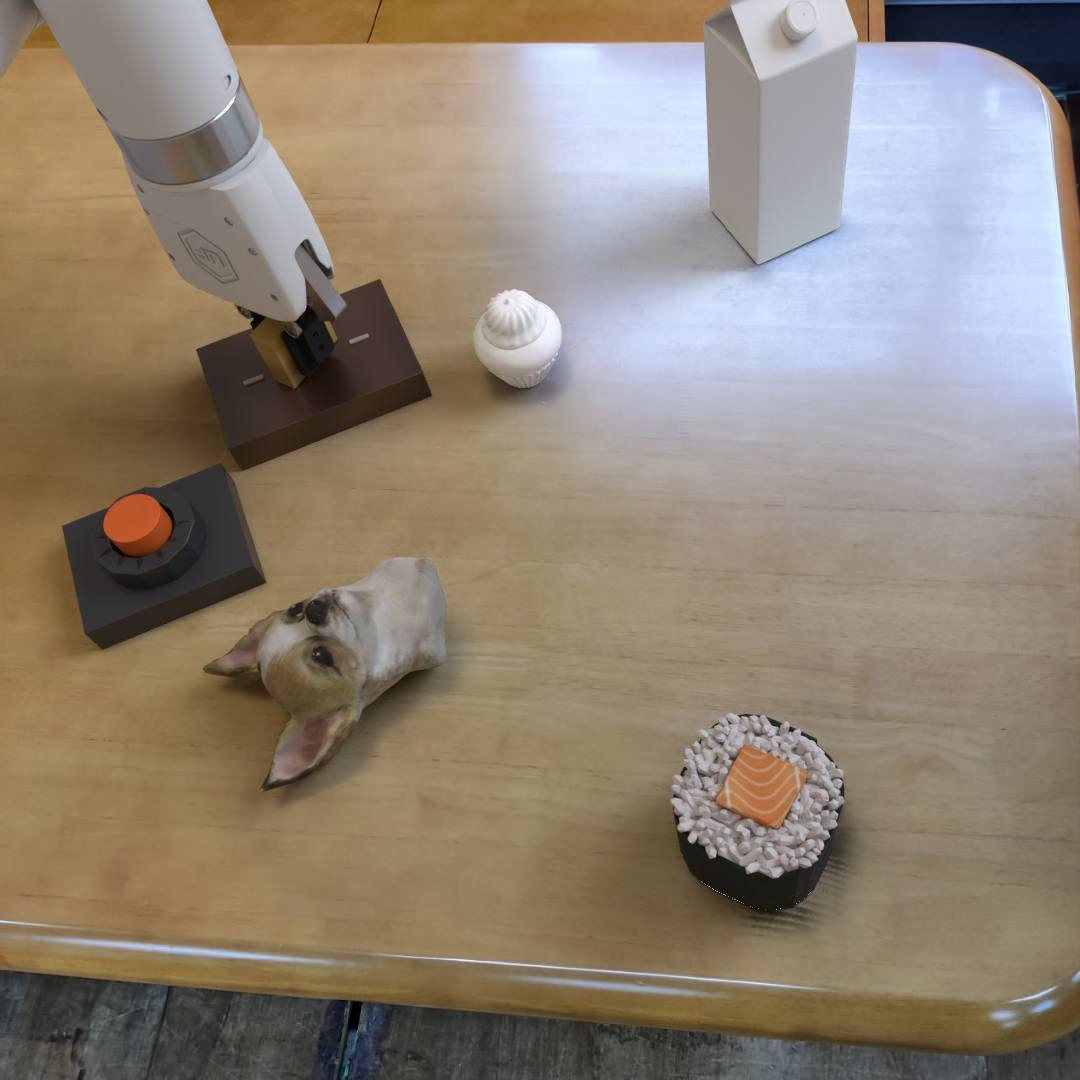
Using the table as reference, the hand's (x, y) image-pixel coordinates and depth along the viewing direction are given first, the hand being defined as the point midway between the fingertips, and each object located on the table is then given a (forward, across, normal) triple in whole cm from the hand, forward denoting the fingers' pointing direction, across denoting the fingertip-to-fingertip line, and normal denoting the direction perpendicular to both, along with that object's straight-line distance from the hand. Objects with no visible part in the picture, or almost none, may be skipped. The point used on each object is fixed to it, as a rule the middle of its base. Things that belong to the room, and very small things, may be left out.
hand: (303, 354), depth 76 cm
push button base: (+3, 0, -17) cm, 17 cm away
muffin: (+3, +13, +7) cm, 15 cm away
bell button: (0, 0, -17) cm, 17 cm away
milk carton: (+3, +22, +28) cm, 36 cm away
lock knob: (+1, 0, 0) cm, 1 cm away
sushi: (+3, +42, -15) cm, 45 cm away
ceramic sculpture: (+3, +16, -18) cm, 24 cm away
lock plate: (+3, 0, 0) cm, 3 cm away
